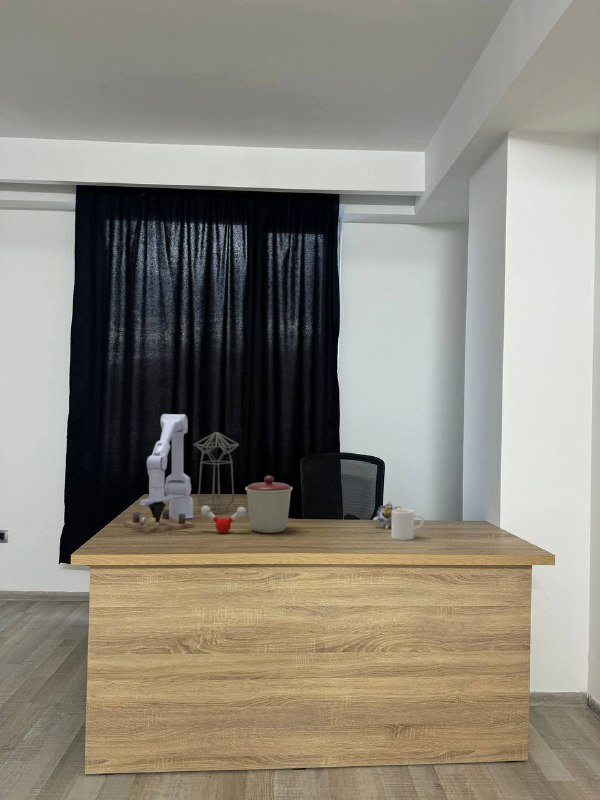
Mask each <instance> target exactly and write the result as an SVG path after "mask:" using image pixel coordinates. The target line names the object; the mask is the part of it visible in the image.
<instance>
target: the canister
mask: <svg viewBox="0 0 600 800" xmlns="http://www.w3.org/2000/svg"><path fill="white" fill-rule="evenodd" d="M263 479H264V482H263V481H262V482H254V483H251V484H249V485H247V486H245V488H244V489H245V491H246V495H247V506H248V515H249V523H250V527H251V530H253V532H256V533H260V532H261V533H262V534H275V533H276V534H277V533H281V532H284V531H285V530H286V528H287V525H288V519H289V511H290V503H291V493H292V491H293V486H291V485H289V484H288V483H285V482H284V483H283V482H275V481H274V480H275V479H274V476H272V475H266V476H265V477H264V478H263Z"/></svg>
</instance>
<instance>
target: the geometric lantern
mask: <svg viewBox="0 0 600 800" xmlns="http://www.w3.org/2000/svg"><path fill="white" fill-rule="evenodd" d="M226 439H227V440H228V441H229V442H232V443H231V444H230V443H229V442H228V441H227V440H226ZM205 440H206V441H205ZM214 440H215V442H214ZM203 441H205V442H204V443H203V444H202V442H203ZM200 443H201V444H200ZM192 445H193V446H195V447H196V448H197V449H198V450H199V451H201V457H200V462H199V466H200V467H199V480H198V481H199V482H198V492H197V493H198V494H197V503H199V505H201V506H202V507H203V506H204V505H203V504H208V505H207V506H208V507H210V506H213V507H210V509H215V510H216V509H218V510H217V511H212V512H213V514H220V513H219V512H221V513H224V511H225V512H228V511H229V509H228V507H230V506H231V505H232V504H233V503H235V490H234V467H233V458H232V455H231V453H232V452H233V451H234V450H235V449H236V448H238V447H239V445H240V444H239V443H238V442H236V441H235V440H233V439H230V438H229V437H227V436H226V435H224V434H223V433H220V432H217V431H215V432H214V431H213V433H211V434H209V435H207V436H206V437H204V438H202V439H200V440H199V441H197V442H195V443H193V444H192ZM210 445H211V446H210ZM204 448H205V450H204ZM216 448H220V449H221V451H222V453H221V454H220V456H219V458H218V459H217V460H216V458H215V457H214V456H213V454H212V451H213V450H214V449H216ZM227 449H228V450H227ZM205 454H207V455H208V457H209V459H210V460H205V461H203V459H204V456H205ZM226 454H228V456H229V461H228V460H222V459H223V458H224V456H225V455H226ZM211 456H212V457H211ZM212 458H213V459H212ZM210 462H211V463H210ZM216 462H217V463H216ZM220 462H221V463H220ZM203 464H204V465H206V464H207V465H213V473H212V475H213V476H212V477H213V478H212V493H211V497H209V498H208V497H207V498H202V499H200V498H201V497H200V496H201V481H202V473H203ZM226 464H230V473H231V491H232V492H231V495H232V496H231V497H232V498H222V497H221V485H220V481H221V480H220V465H226ZM216 466H217V497H215V476H216ZM207 500H211V502H207ZM215 500H216V502H215ZM221 500H224V501H225V502H224V501H223V502H221ZM202 503H203V504H202ZM226 504H227V505H226ZM220 506H221V507H220ZM219 509H220V510H219Z"/></svg>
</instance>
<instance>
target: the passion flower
mask: <svg viewBox="0 0 600 800" xmlns="http://www.w3.org/2000/svg"><path fill="white" fill-rule="evenodd" d="M377 509H378V510H377V511H376V516H374V517H373V518H372V520H373V521H379V522H380V523H379V526H380V527H384V530H387V529H389V527H390V526H392V510H396V509H402V508H401V505H398V506H394V505H393V503H392V502H391V501H389V502H388V503H386V504H384V505H380V506H378V507H377Z"/></svg>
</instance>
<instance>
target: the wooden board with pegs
mask: <svg viewBox="0 0 600 800" xmlns="http://www.w3.org/2000/svg"><path fill="white" fill-rule="evenodd" d="M140 514H141V513H140V512H132V520H127V521H123V526H124V525H125V527H127V526H128V528H130V527H131V528H130V529H133V528H134V530H136V529H137V530H136V531H139V530H140V532H142V531H143V533H145V534H153V532H154V533H160V532H159V531H162V532H167V531H166V530H170V531H175V530H174V529H178V530H183V529H182V528H185V529H191V528H192V527H193V528H195V523H194V522H190V521H187V520H186V519H185V514H179V519H177V518H173V517H170V516H169V508H167V509H165V508H164V509H163V511H162V516H161V517H160V521H159V523H158V522H155V523H149V518H147V522H144V525H142V524H141V515H140Z"/></svg>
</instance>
